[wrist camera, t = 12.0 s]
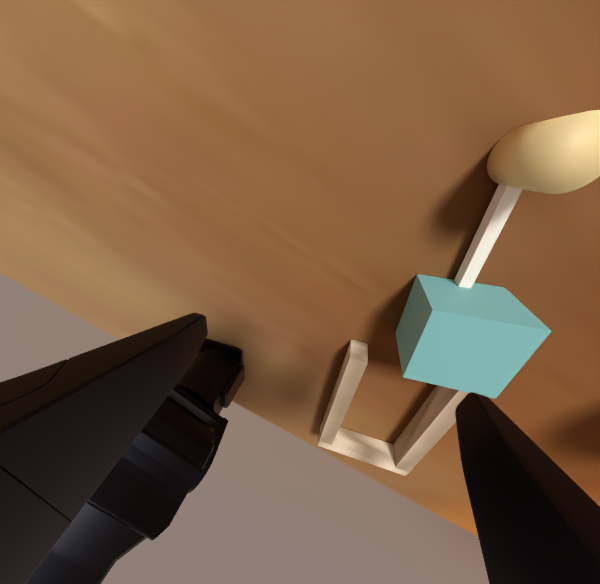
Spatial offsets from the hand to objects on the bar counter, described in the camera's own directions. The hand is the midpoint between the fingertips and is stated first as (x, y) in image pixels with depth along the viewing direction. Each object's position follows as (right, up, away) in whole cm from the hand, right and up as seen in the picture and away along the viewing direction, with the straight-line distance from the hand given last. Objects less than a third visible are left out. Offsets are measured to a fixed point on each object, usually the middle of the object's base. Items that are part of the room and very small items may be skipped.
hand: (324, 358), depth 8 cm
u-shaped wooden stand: (+8, -10, +18) cm, 22 cm away
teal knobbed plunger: (+11, +5, +8) cm, 15 cm away
